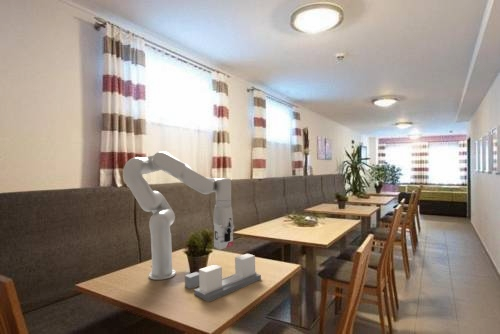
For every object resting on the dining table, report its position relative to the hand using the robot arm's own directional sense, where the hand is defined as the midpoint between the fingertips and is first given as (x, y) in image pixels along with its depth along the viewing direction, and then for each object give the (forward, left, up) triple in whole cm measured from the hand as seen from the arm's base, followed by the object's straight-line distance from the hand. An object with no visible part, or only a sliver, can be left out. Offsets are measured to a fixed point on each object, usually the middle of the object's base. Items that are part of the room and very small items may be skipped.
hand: (223, 239), depth 147 cm
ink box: (0, 0, -4) cm, 4 cm away
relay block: (0, -19, -17) cm, 25 cm away
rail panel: (+13, -9, -17) cm, 23 cm away
